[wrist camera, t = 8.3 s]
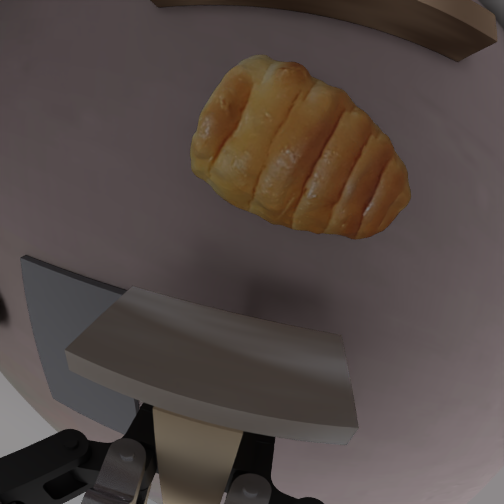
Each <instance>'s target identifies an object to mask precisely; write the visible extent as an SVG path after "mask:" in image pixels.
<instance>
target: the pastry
mask: <svg viewBox="0 0 504 504" xmlns="http://www.w3.org/2000/svg"><path fill="white" fill-rule="evenodd" d="M190 157H191V169H192V171H193V173H194V174H195V175H196V176H197V177H199V178H201V179H203V180H204V181H205V182H207V183H208V184H209V185H210V186H211V187H212V188H213V190H214V191H215V192H216V193H217V194H218V195H220V196H221V197H222V198H223V199H224V200H225V201H227V202H229V203H230V204H232V205H234V206H236V207H238V208H240V209H243V210H246V211H248V212H251V213H253V214H256V215H258V216H260V217H261V218H263V219H264V220H266V221H268V222H270V223H271V224H276V225H283V226H286V227H288V228H291V229H294V230H304V231H310V232H313V233H316V234H320V233H325V234H338V235H342V236H346V237H348V238H351V239H362V238H368V237H371V236H373V235H375V234H377V233H379V232H381V231H383V230H384V229H385V228H386V227H388V226H389V225H390V224H391V222H392V221H393V220H394V219H395V218H396V216H397V215H398V213H399V212H400V211H401V210H403V209H404V208H405V207H406V206H407V205H408V203H409V201H410V198H411V191H410V187H409V182H408V172H407V169H406V167H405V165H404V163H403V161H402V160H401V159H400V158H399V156H398V155H397V153H396V152H395V151H394V147H393V145H392V143H391V141H390V139H389V137H388V136H387V135H386V134H384V133H383V132H382V131H381V129H380V128H379V127H378V126H377V125H376V124H375V123H373V121H372V119H371V118H370V117H369V116H368V115H367V114H366V113H365V112H364V111H363V110H361V109H360V108H358V107H357V106H356V105H355V104H354V103H353V101H352V100H351V99H350V97H349V96H348V95H347V93H346V92H345V91H344V90H342V89H339V88H336V87H332V86H329V85H327V84H325V83H324V82H323V81H321V80H318V79H316V78H314V77H312V76H310V74H309V72H308V71H307V69H306V68H305V67H304V66H303V65H300V64H299V63H296V62H279V61H275V60H272V59H271V58H270V57H268V56H267V55H254V56H251V57H249V58H248V59H244V60H242V61H241V62H240V63H239V64H238V65H237V66H235V67H234V68H232V69H231V70H230V71H229V72H228V73H227V74H226V75H225V76H224V78H223V79H222V81H221V82H220V84H219V85H218V86H217V88H216V89H215V90H214V92H213V93H212V95H211V97H210V98H209V100H208V102H207V103H206V105H205V106H204V108H203V110H202V111H201V114H200V117H199V121H198V127H197V131H196V132H195V133H194V135H193V138H192V143H191V149H190Z"/></svg>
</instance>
